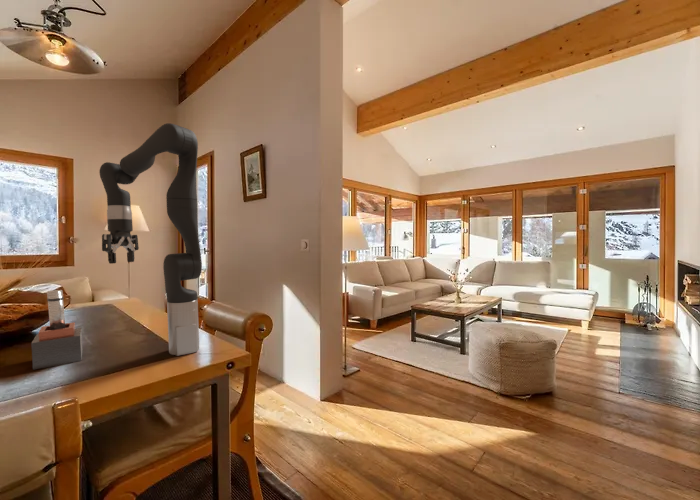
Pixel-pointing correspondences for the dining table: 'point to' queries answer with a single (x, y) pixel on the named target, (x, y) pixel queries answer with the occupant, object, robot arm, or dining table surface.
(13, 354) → the dining table surface
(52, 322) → the steel tube
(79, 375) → the dining table surface
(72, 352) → the block
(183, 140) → the robot arm
